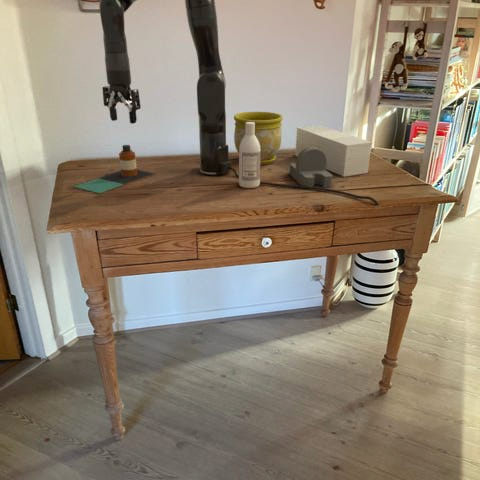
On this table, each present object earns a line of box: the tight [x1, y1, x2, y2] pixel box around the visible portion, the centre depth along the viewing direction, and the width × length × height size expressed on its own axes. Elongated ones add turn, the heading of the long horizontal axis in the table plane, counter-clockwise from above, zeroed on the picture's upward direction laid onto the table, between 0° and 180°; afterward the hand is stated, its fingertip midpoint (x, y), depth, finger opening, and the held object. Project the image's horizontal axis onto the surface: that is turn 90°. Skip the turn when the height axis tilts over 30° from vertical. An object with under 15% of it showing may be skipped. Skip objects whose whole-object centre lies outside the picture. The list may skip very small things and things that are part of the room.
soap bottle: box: [118, 144, 138, 177], centre depth 181 cm, size 6×6×10 cm
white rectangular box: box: [294, 124, 373, 178], centre depth 195 cm, size 32×11×11 cm, turn 27°
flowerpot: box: [233, 111, 284, 166], centre depth 197 cm, size 18×18×16 cm
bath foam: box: [238, 122, 261, 189], centre depth 169 cm, size 7×7×20 cm
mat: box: [73, 169, 154, 195], centre depth 178 cm, size 12×26×1 cm, turn 147°
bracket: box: [289, 147, 334, 188], centre depth 177 cm, size 10×18×11 cm, turn 13°
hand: (123, 121), depth 174 cm, fingers open, 8 cm apart
